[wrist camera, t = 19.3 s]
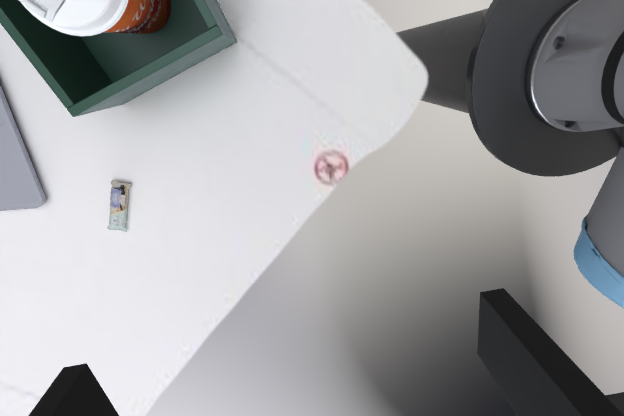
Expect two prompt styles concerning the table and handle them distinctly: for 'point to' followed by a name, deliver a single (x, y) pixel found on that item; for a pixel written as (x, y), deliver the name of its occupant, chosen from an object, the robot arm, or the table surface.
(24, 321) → the table surface
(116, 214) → the granola bar
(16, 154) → the laptop
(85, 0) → the paper cup
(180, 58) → the open storage bin
